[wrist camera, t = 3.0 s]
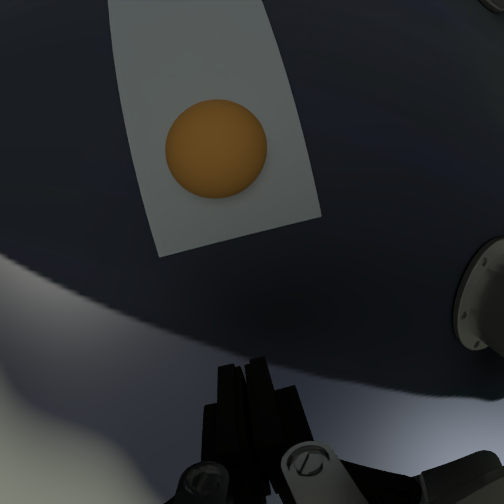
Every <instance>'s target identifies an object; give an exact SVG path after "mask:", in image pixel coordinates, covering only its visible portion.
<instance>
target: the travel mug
mask: <svg viewBox="0 0 504 504" xmlns="http://www.w3.org/2000/svg"><path fill="white" fill-rule="evenodd" d="M479 1H480V2H481V3H482V4H483V5H484V6H485V7H487V8H488V9H489V10H491V11H493V12H496V13H499V12H501V11H503V10H504V0H479Z"/></svg>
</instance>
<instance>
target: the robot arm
mask: <svg viewBox="0 0 504 504" xmlns="http://www.w3.org/2000/svg"><path fill="white" fill-rule="evenodd" d="M453 326H454V332H455V335H456V337H457V339H458V340H459V342H460V343H461V344H463V345H464V346H465V347H466V348H468V349H470V350H481V349H484V348H486V347H488V346H489V347H490V348H492V349H493V350H494V351H495V352H497V353H498V354H499V355H501V356H502V357H503V358H504V237H498V238H494V239H493V240H491V241H489V242H488V243H486V244H485V245H484V246H483V247H482V248H481V249H480V250H479V251H478V253H477V254H476V255H475V256H474V258H473V259H472V261H471V263H470V264H469V266H468V267H467V270H466V272H465V274H464V276H463V278H462V280H461V283H460V286H459V288H458V292H457V296H456V299H455V304H454V311H453ZM245 374H246V381H245V378H244V375H243V372H242V369H241V367H240V366H238V367H235V366H234V364H229V365H224V366H219V367H218V389H217V393H218V394H217V403H214V404H209V405H205V406H204V414H203V431H202V451H201V462H199V463H196V464H193V465H192V466H190V467H188V468H187V469H186V470H185V471H184V472H183V474H182V475H181V477H180V480H179V483H178V487H177V490H176V494H175V496H174V497H172V498H171V499H170V500H169V501H167V502H166V503H164V504H266V496H267V495H271V490H270V484H269V480H270V483H271V485H272V487H273V489H274V491H275V493H276V494H279V496H280V498H281V500H282V502H283V504H504V466H502V464H501V462H500V460H499V458H498V457H497V455H496V454H495V453H493V452H491V451H486V450H482V451H478V452H475V453H473V454H470V455H468V456H465V457H463V458H460V459H458V460H455V461H452V462H450V463H447V464H444V465H441V466H438V467H435V468H432V469H429V470H426V471H423V472H422V473H421V474H420V475H417V476H413V477H408V476H406V475H401V474H395V473H391V472H386V471H382V470H378V469H374V468H369V467H366V466H362V465H358V464H354V463H351V462H347V461H344V460H340V459H339V458H338V457H337V455H336V454H335V452H334V451H333V449H331V447H330V446H329V445H327V444H325V443H323V442H317V441H314V440H313V437H312V434H311V431H310V428H309V425H308V422H307V419H306V416H305V413H304V410H303V407H302V404H301V401H300V398H299V395H298V392H297V389H296V387H295V385H293V386H290V387H286V388H282V389H278V390H274V387H273V384H272V381H271V377H270V374H269V370H268V366H267V363H266V359H265V356H263V357H259V358H255V359H250V364H247V365H245ZM246 382H247V384H246Z"/></svg>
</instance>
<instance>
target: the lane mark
mask: <svg viewBox="0 0 504 504" xmlns="http://www.w3.org/2000/svg"><path fill="white" fill-rule="evenodd" d="M108 7H109V19H110V29H111V38H112V47H113V55H114V62H115V69H116V76H117V82H118V88H119V94H120V100H121V105H122V111H123V116H124V121H125V126H126V131H127V136H128V141H129V145H130V150H131V154H132V159H133V163H134V167H135V171H136V176H137V180H138V184H139V188H140V191H141V195H142V199H143V203H144V207H145V210H146V214H147V217H148V221H149V225H150V228H151V231H152V235H153V238H154V242H155V245H156V248H157V251H158V255H159V257H163V256H167V255H171V254H174V253H178V252H182V251H186V250H190V249H193V248H197V247H201V246H205V245H209V244H213V243H217V242H221V241H225V240H229V239H233V238H236V237H240V236H244V235H248V234H252V233H256V232H260V231H264V230H269V229H273V228H277V227H281V226H285V225H289V224H293V223H297V222H301V221H305V220H310V219H314V218H318V217H322V216H321V211H320V206H319V201H318V197H317V192H316V187H315V183H314V178H313V174H312V169H311V165H310V161H309V157H308V153H307V148H306V144H305V140H304V136H303V132H302V129H301V125H300V121H299V117H298V114H297V110H296V106H295V103H294V99H293V95H292V92H291V89H290V85H289V82H288V78H287V75H286V72H285V68H284V65H283V62H282V59H281V56H280V52H279V49H278V46H277V43H276V40H275V37H274V34H273V31H272V28H271V25H270V23H269V20H268V17H267V14H266V11H265V8H264V6H263V3H262V0H108ZM213 99H222V100H228V101H232V102H235V103H238V104H240V105H242V106H243V107H245V108H247V109H248V110H249V111H250V112H251V113H253V115H254V116H255V117H256V118H257V119H258V121H259V122H260V124H261V125H262V127H263V129H264V132H265V135H266V140H267V156H266V160H265V164H264V166H263V169H262V171H261V172H260V174H259V176H258V177H257V178H256V180H255V181H254V182H253V183H252V184H251V185H250V186H249V187H247V188H246V189H245V190H243V191H242V192H240V193H238V194H236V195H233V196H230V197H226V198H218V199H212V198H205V197H200V196H197V195H195V194H193V193H191V192H189V191H187V190H186V189H184V188H183V187H182V186H181V185H180V184H179V183H178V182H177V181H176V180H175V179H174V177H173V176H172V174H171V172H170V170H169V168H168V165H167V161H166V156H165V144H166V139H167V135H168V132H169V130H170V128H171V126H172V124H173V123H174V121H175V120H176V118H177V117H178V116H179V115H180V114H181V113H182V112H184V111H185V110H186V109H187V108H189V107H191V106H192V105H194V104H197V103H199V102H202V101H206V100H213Z"/></svg>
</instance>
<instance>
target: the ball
mask: <svg viewBox="0 0 504 504" xmlns="http://www.w3.org/2000/svg"><path fill="white" fill-rule="evenodd" d="M165 156H166V161H167V165H168V168H169V170H170V172H171V174H172V176H173V177H174V179H175V180H176V181H177V182H178V183H179V184H180V185H181V186H182V187H183V188H184V189H186V190H187V191H189V192H191V193H193V194H195V195H197V196H200V197H205V198H212V199H218V198H226V197H230V196H233V195H236V194H238V193H240V192H242V191H243V190H245V189H246V188H247V187H249V186H250V185H251V184H252V183H253V182H254V181H255V180H256V178H257V177H258V176H259V174H260V172H261V171H262V169H263V166H264V164H265V160H266V156H267V140H266V135H265V132H264V129H263V127H262V125H261V124H260V122H259V121H258V119H257V118H256V117H255V116H254V115H253V113H251V112H250V111H249V110H248V109H247V108H245V107H243V106H242V105H240V104H238V103H235V102H232V101H228V100H222V99H213V100H206V101H202V102H199V103H197V104H194V105H192V106H191V107H189V108H187V109H186V110H185V111H184V112H182V113H181V114H180V115H179V116H178V117H177V118H176V120H175V121H174V123H173V124H172V126H171V128H170V130H169V132H168V135H167V139H166V144H165Z"/></svg>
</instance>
